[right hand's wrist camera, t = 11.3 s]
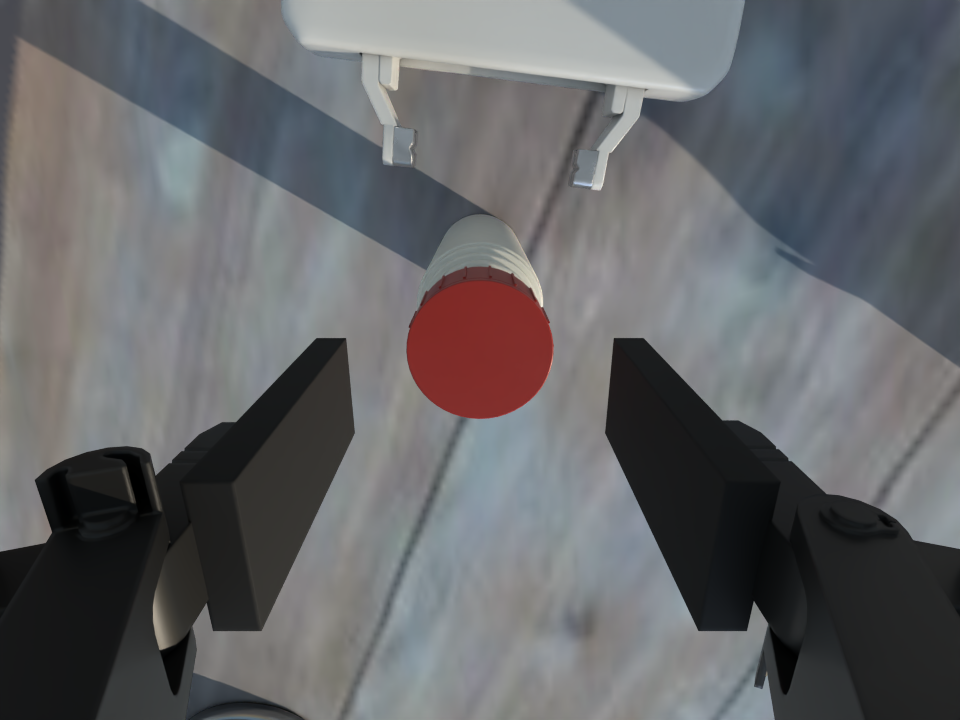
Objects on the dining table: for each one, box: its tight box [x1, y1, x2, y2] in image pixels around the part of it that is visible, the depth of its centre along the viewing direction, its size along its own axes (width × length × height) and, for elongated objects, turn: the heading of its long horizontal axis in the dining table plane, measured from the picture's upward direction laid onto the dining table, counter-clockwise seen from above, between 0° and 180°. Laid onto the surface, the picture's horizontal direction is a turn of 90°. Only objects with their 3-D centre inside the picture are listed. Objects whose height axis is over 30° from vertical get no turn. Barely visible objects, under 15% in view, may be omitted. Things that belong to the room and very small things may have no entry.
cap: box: [406, 266, 554, 419], centre depth 17 cm, size 5×5×2 cm
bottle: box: [417, 214, 543, 310], centre depth 26 cm, size 5×5×19 cm
